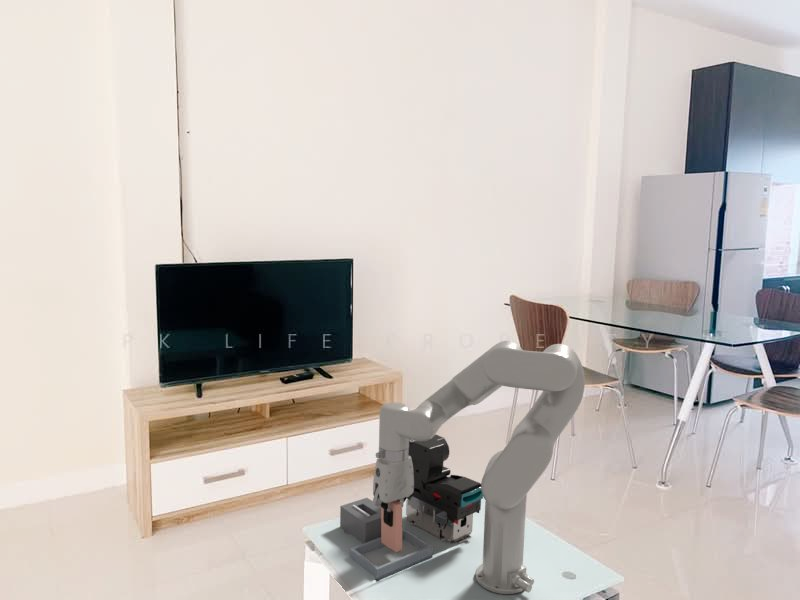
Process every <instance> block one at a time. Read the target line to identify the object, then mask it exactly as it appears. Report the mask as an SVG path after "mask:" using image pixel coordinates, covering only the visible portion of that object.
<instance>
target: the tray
mask: <svg viewBox="0 0 800 600" xmlns="http://www.w3.org/2000/svg"><path fill="white" fill-rule="evenodd" d="M402 539H405V540H406V541H408V542H409V543H410V544H412V545H414V546H415V547H417V548H418V550H416V551H413V552H410V553H409V554H406V555H404V556H402V557H399V558H397V559H394V560H392V561H390V562H387V563H384V564H381V565H379V566H377V565H376V564H375V563H373V562H372V561H371V560H369V559H368V558H366V557H365V556H364V555H363V554H366V553H367V552H371V551H372V550H375V549H378V548H381V547H383V546H385V545H384V544H382V543H381V537H380V538H377V539H375V540H372V541H369V542H367V543H364V544H363V543H361V544H359V545H355V546H354V547H350V548H349V557H350V558H351V559H352V560H354V561H355V563H358V565H360V566H361V567H362V568H364V569H365V570H366V571H368V572H369V573H370V574H372V575H373V576H374V577H375V579H373V580H374V581H376V582H379V581H381V580H383V579H386V578H389V577H390V576H392V575H394V574H397V573H400V572H402V571H405V570H407V569H409V568H411V567H414V566H416V565H419V564H422V563H423V562H425V561H427V560H430V559H432V558H433V550H434V549H433V548H434V546H432V544H429V543H427V542H426V541H425V540H424V539H422V538H420V537H418V536H417V535H415V534H413V533H412V532H411V531H409V530H407V529H406V528H402Z"/></svg>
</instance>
